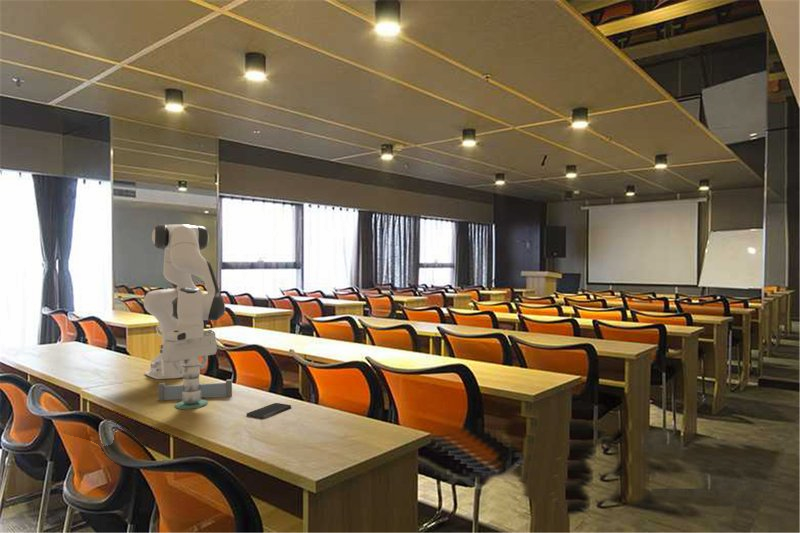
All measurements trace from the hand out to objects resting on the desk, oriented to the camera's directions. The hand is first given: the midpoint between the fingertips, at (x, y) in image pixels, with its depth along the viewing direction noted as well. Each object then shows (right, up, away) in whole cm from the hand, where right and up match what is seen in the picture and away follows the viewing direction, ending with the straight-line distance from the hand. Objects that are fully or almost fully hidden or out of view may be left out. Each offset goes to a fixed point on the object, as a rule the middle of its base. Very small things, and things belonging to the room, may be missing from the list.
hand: (190, 370), depth 184 cm
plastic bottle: (0, -12, 0) cm, 12 cm away
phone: (+30, -13, -8) cm, 34 cm away
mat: (0, -12, 0) cm, 12 cm away
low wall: (-2, -12, +10) cm, 16 cm away
